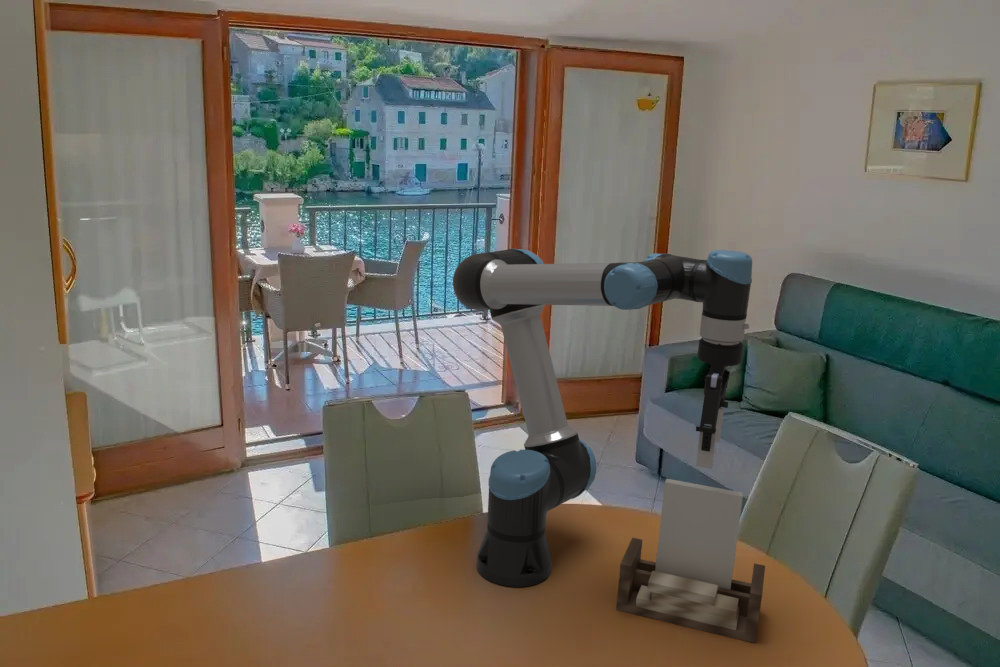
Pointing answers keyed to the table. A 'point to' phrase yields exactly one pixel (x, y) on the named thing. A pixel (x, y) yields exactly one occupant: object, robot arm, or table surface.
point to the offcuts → (688, 600)
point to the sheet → (698, 532)
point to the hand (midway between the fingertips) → (708, 453)
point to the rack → (639, 574)
